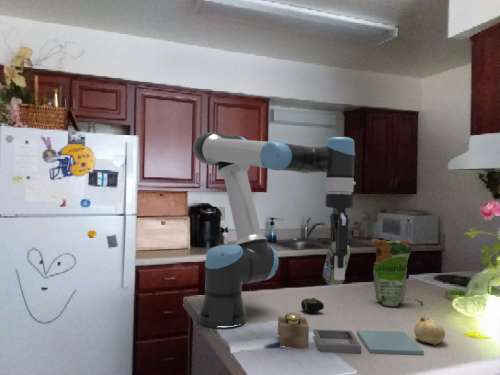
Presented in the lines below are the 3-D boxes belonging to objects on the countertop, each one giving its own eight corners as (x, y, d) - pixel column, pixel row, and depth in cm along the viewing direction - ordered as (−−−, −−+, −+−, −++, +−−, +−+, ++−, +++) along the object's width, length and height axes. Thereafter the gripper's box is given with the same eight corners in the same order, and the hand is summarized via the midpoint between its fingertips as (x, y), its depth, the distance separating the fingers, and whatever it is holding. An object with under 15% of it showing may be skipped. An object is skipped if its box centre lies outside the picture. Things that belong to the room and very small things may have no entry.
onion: (435, 336, 115) (436, 313, 115) (450, 347, 107) (451, 322, 107) (409, 336, 115) (409, 312, 115) (422, 347, 107) (422, 321, 107)
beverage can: (327, 275, 115) (331, 237, 113) (350, 283, 111) (355, 243, 108) (317, 282, 111) (320, 242, 108) (340, 290, 106) (345, 249, 104)
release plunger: (285, 344, 105) (285, 317, 105) (284, 338, 110) (284, 312, 110) (301, 345, 105) (301, 318, 105) (299, 339, 110) (300, 312, 110)
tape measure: (325, 312, 133) (324, 301, 133) (307, 315, 131) (306, 304, 131) (315, 306, 140) (315, 296, 140) (298, 309, 138) (297, 299, 138)
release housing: (279, 348, 104) (279, 325, 104) (277, 337, 112) (278, 316, 112) (308, 349, 104) (308, 326, 104) (304, 338, 111) (305, 317, 111)
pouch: (412, 304, 147) (413, 239, 147) (393, 309, 140) (395, 241, 140) (387, 297, 156) (388, 236, 156) (368, 302, 149) (369, 237, 150)
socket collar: (318, 351, 102) (319, 344, 102) (313, 336, 113) (313, 329, 113) (360, 353, 102) (361, 345, 102) (351, 337, 113) (351, 330, 113)
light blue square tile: (370, 353, 102) (370, 349, 102) (356, 333, 116) (356, 330, 116) (423, 355, 102) (423, 351, 102) (403, 335, 116) (404, 331, 116)
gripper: (361, 194, 99) (358, 285, 99) (346, 193, 116) (344, 271, 116) (331, 193, 99) (329, 284, 99) (321, 192, 116) (319, 270, 116)
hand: (337, 277), depth 107 cm, fingers closed on beverage can, 4 cm apart
